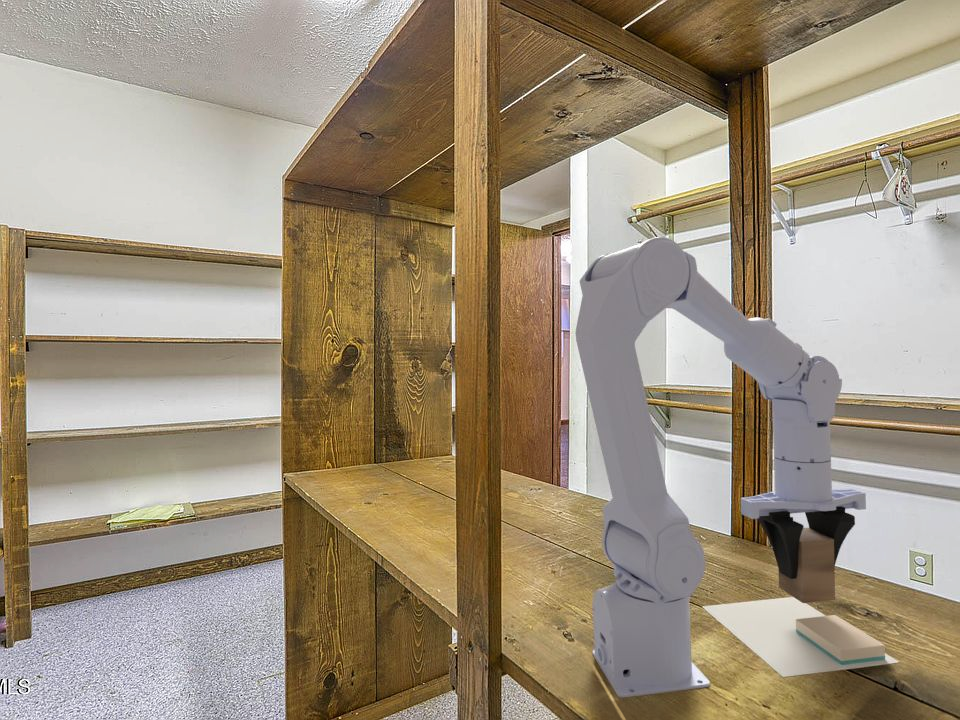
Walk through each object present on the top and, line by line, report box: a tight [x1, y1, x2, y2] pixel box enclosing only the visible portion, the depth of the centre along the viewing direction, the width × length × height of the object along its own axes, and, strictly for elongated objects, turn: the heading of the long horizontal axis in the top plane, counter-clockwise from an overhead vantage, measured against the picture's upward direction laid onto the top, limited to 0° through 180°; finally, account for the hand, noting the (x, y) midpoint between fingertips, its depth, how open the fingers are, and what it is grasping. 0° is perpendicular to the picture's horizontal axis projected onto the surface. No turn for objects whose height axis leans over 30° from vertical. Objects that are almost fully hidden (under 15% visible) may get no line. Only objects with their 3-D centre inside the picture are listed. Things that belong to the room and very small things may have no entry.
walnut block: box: [778, 527, 836, 604], centre depth 62 cm, size 4×4×7 cm
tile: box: [796, 614, 886, 665], centre depth 58 cm, size 5×2×6 cm
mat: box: [701, 596, 900, 678], centre depth 61 cm, size 13×15×1 cm
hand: (805, 573), depth 62 cm, fingers closed on walnut block, 4 cm apart
